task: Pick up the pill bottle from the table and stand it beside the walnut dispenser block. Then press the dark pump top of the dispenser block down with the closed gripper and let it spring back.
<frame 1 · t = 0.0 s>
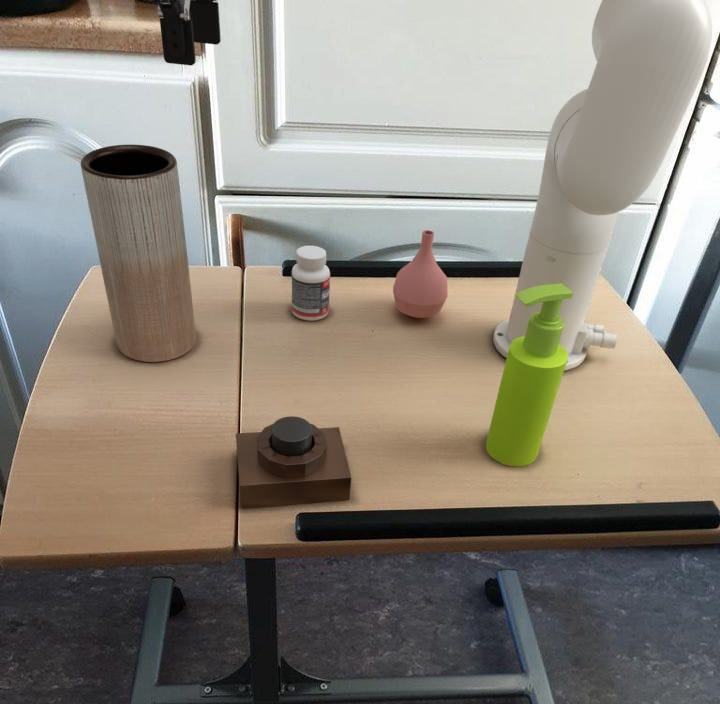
hand: (194, 52, 77), 31 cm above the table, tool pointing down, fingers open, 9 cm apart
soap dispenser: (507, 451, 80), on the table
pill bottle: (310, 313, 99), on the table
perfume bottle: (417, 315, 101), on the table
planter: (157, 343, 91), on the table
pump top: (291, 436, 70), point 6 cm above the table, slide at 0.1 cm
dispenser block: (292, 477, 74), on the table
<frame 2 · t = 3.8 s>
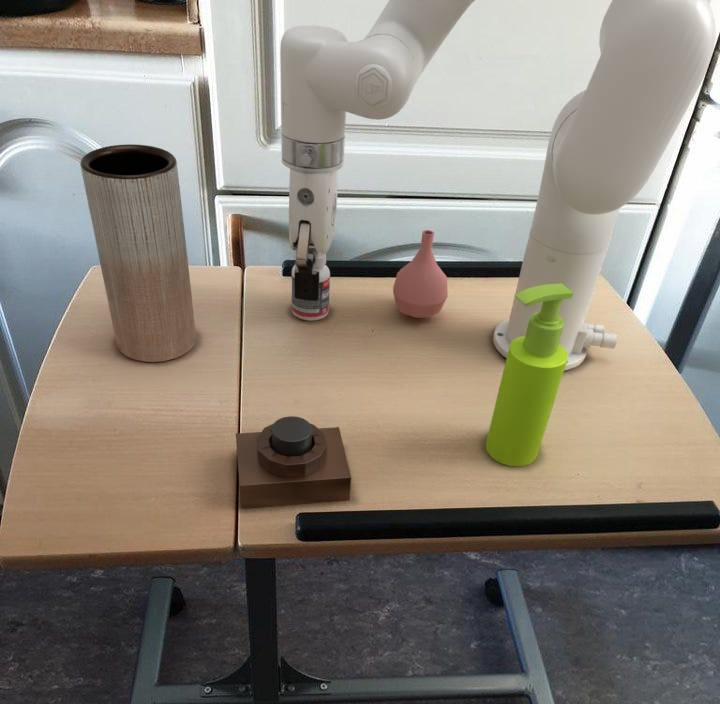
hand: (310, 286, 96), 4 cm above the table, tool pointing down, fingers closed on pill bottle, 5 cm apart
pill bottle: (310, 313, 99), on the table, touching gripper
everything else where it was.
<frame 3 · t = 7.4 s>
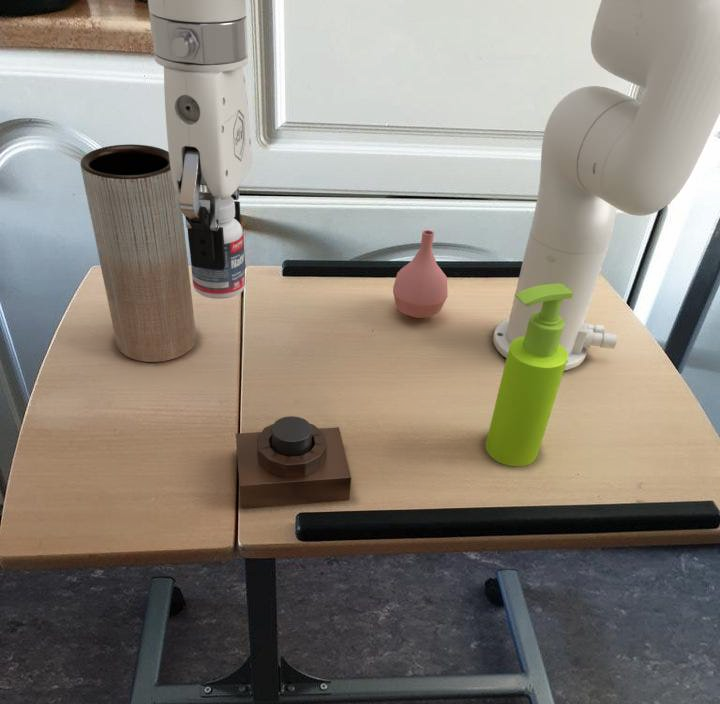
hand: (217, 251, 69), 19 cm above the table, tool pointing down, fingers closed on pill bottle, 5 cm apart
pill bottle: (219, 289, 72), point 15 cm above the table, touching gripper
everything else where it was.
when the fingers open (4 cm above the table, at t = 11.4 s): pill bottle stays where it is, on the table.
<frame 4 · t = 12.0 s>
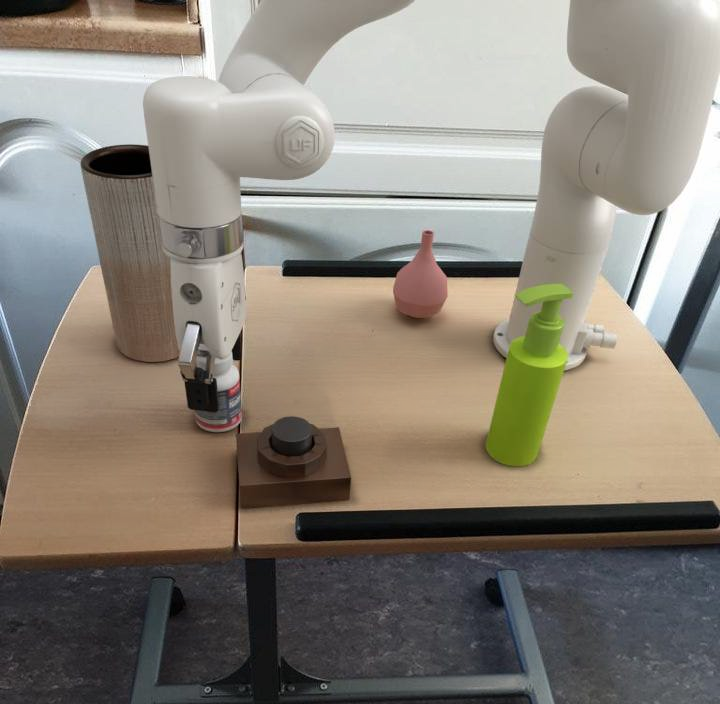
hand: (216, 382, 77), 5 cm above the table, tool pointing down, fingers open, 9 cm apart
pill bottle: (219, 420, 81), on the table
everything else where it was.
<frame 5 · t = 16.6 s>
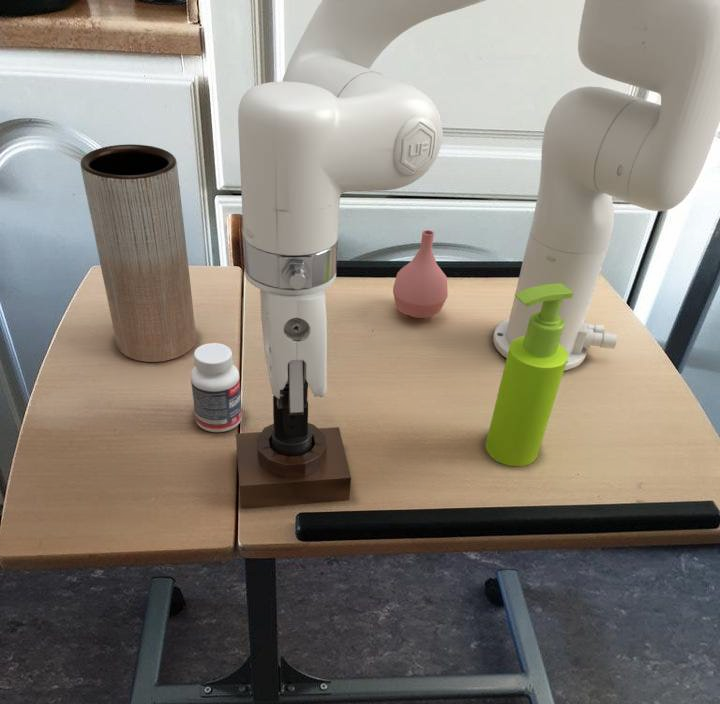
hand: (290, 431, 70), 6 cm above the table, tool pointing down, fingers closed
pump top: (291, 439, 70), point 5 cm above the table, slide at -0.3 cm, touching gripper
everything else where it was.
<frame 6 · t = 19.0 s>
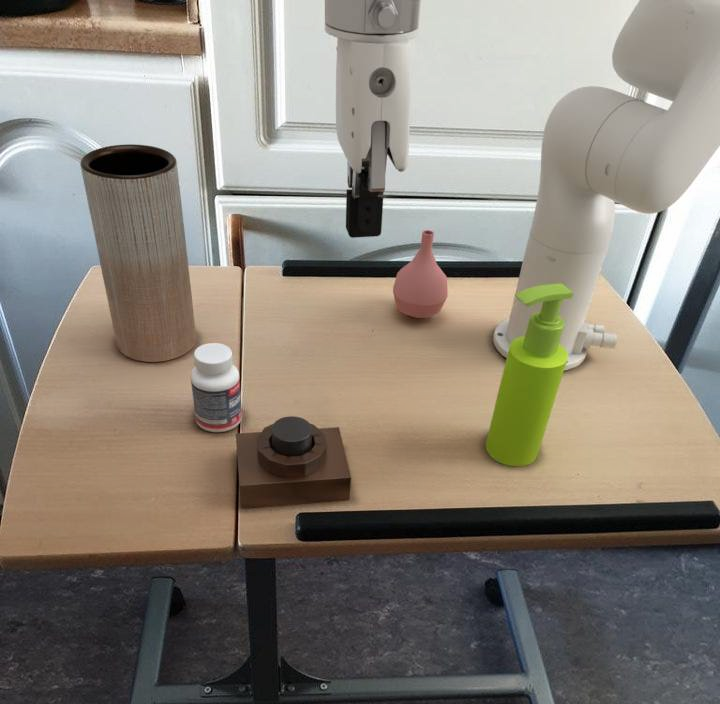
hand: (363, 232, 68), 22 cm above the table, tool pointing down, fingers closed
pump top: (291, 436, 70), point 6 cm above the table, slide at 0.1 cm
everything else where it was.
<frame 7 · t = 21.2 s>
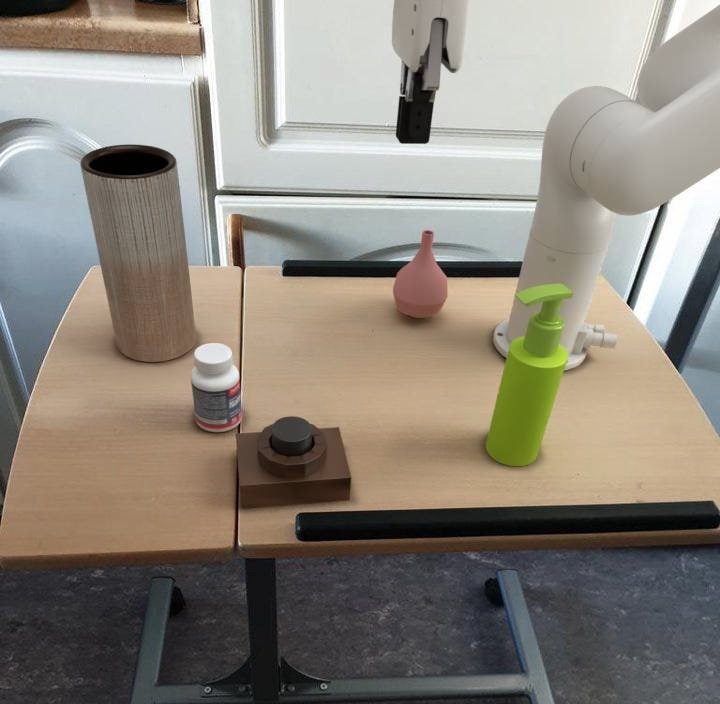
hand: (412, 140, 73), 27 cm above the table, tool pointing down, fingers closed
nothing on the table moved.
at the end: pump top pushed in 1.1 cm at the most during the clip, back to where it started at the end; pump top slide at 0.1 cm; pill bottle inside the target area on the table beside the dispenser block (0.0 cm from its centre), on the table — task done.
